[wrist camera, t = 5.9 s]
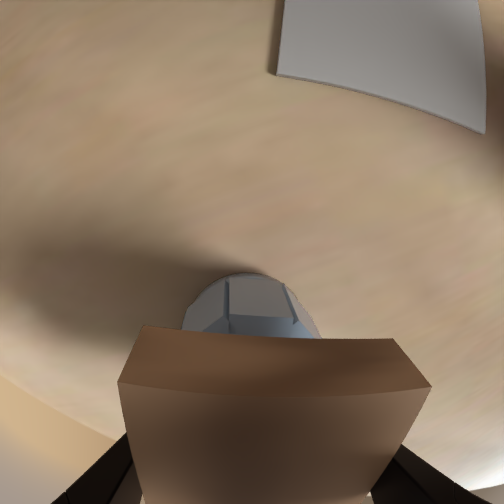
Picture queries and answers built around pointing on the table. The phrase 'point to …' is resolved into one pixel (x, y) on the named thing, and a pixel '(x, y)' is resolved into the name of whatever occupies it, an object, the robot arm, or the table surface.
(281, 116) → the table surface
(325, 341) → the block
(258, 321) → the grey ring collar
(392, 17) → the mat
